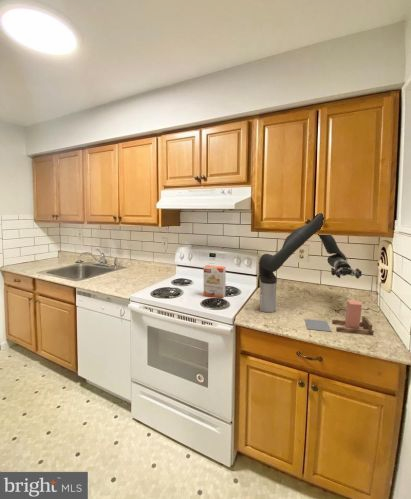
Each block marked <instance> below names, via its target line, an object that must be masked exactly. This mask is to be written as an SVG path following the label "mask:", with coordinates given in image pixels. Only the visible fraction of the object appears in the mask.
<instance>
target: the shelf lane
mask: <svg viewBox="0 0 411 499" xmlns="http://www.w3.org/2000/svg"><path fill="white" fill-rule="evenodd" d="M361 316H362V315H361ZM331 323H332V325H343V326H344V327H342V326H336V327H335V331H336V332H338V333H348V334H355V335H356V334H357V335H358V334H359V335H370V336H373V335H374V333H375V332H374V330H373V324H372V323H371V322H370V321H369V319H368V318H367V317H366V316H362V318H361V321H360V325H359V327H362V328H359V329H356V328H346V327H345V319H334V318H333V319H331Z"/></svg>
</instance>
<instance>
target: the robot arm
mask: <svg viewBox="0 0 411 499" xmlns="http://www.w3.org/2000/svg"><path fill="white" fill-rule="evenodd" d="M323 220H324V217H323V214H322V213H319V214H317V215H316V216H315V218H314V219H313V220H312V221H311V222H309V223H307V224H304V225H302V226H301V227H298V228H297V229H295V230H293V231H292V232H291V233H290V234H289V235H288V236H286V238H285V239H284V241H283V245H282V247H281V249H280V250H279V251H277V252H276V253H275V254H270V253H264V254H262V255H261V256H260V259H259V262H258V274H259V279H260V281H259V282H260V284H259V285H260V286H259V288H260V289H259V312H260V311H261V312H263V313H274V312H276V310H277V309H276V307H277V306H276V305H277V288H278V287H277V284H278V278H277V276H276V275H275V272H277V271H278V270H279V269H280V268H281V267H282V266H283V265H284V263H286V261H288V259H289V258H290V257H291V256H292V255H293V254H294V253H295V252H296V251H297V250H298V249H300V248H301V247H302V246H303V245H304V244H305V243H306V242H307V241H308V240H310V239H311V238H312V237H313V235H315V234H317V233H316V232H317V231H318V230H320V229H321V227H322V225H323ZM317 235H318V237H319V239H320V241H321V242H322V244H323V247H324V249H325V251H326V253H327V254H328V255H329V256H328V257H327V263H328V264H329V266H331V268H330V274H331V276H336V277H337V278H339V279H341V276H343V277H345V276H350V277H355V278H356V279H360V277H362V270H360V269H359V268H355V269H353V268H352V267H351V265H350V264H349V262H347V256H346V254H344V252H342V250H340V248H339V247H338V244H337V242H336V240H335V238H334V236H333V235H332V234H331V235H319V234H317Z"/></svg>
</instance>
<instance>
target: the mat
mask: <svg viewBox="0 0 411 499" xmlns="http://www.w3.org/2000/svg"><path fill="white" fill-rule="evenodd" d="M304 322H305V326H306V329H307V331H319V332H329V333H331V332H333V331H332V329H331V328H330V325H329V323H328V321H327V320H319V319H309V318H305V319H304Z"/></svg>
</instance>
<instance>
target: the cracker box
mask: <svg viewBox="0 0 411 499" xmlns="http://www.w3.org/2000/svg"><path fill="white" fill-rule="evenodd" d="M226 270H227V268H226V266H223V265H210V264H206V265H204V266H203V296H204V297H210V298H215V297H219V298H218V299H222V298H223V299H224V298H225V297H226V285H227V284H226Z"/></svg>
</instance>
